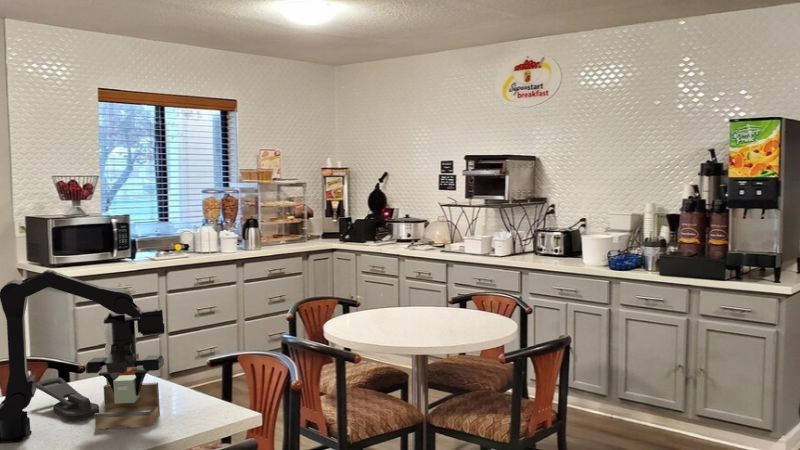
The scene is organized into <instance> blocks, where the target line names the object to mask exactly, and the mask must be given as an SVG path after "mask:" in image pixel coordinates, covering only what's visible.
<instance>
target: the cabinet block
mask: <svg viewBox="0 0 800 450" xmlns="http://www.w3.org/2000/svg"><path fill="white" fill-rule="evenodd" d="M113 383H114V400H115V404H116V403H134V402H135V401H136V400H137V399H138V398H139V397H140V392H139V395H138V396H136V376H135V375H124V376H119V377H118V378H116V379H115V380H114V381H113Z"/></svg>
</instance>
